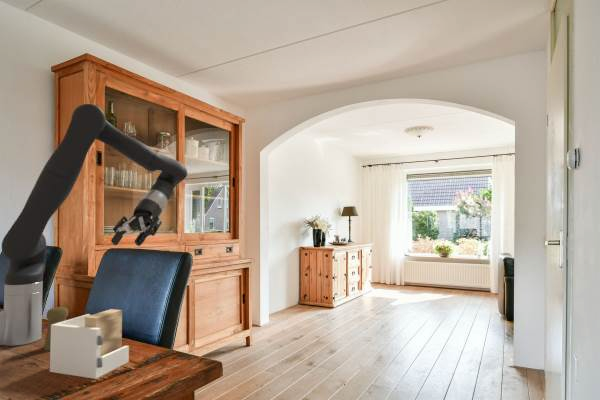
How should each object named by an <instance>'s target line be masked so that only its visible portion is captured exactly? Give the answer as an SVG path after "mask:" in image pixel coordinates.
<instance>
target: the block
mask: <svg viewBox="0 0 600 400" xmlns="http://www.w3.org/2000/svg"><path fill="white" fill-rule="evenodd" d="M85 327H94V328H101V335H103V345H100V357H101V356H103V355H106V354H108V353H110V352H112V351H115V350H117V349H119V348H121V347H123V346H122V345H123V343H122V342H123V340H122V339H123V337H122V336H123V309H114V308H110V309H106V310H104V311H100V312H97V313H94V314H91V315H90V316H87V317H85Z"/></svg>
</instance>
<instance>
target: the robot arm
mask: <svg viewBox="0 0 600 400" xmlns="http://www.w3.org/2000/svg"><path fill="white" fill-rule="evenodd" d="M106 118H107V117H106V115H105V113H104V111H103V110H102V108H100V107H99V106H98V105H96V104H93V103H84V104H81V105H79V106H77V107H76V108H75V109H74V110H73V111H72V114H71V119H70V123H69V125H68V128H67V129H66V133H65V134H64V137H63V139H61V142H60V144H59V145H58V147H56V149H55V150H54V152H53V153H52V155H50V157H49V158H48V160H47V162H46V163H45V165H44V167H43V169H42V170H41V172H40V174H39V176H38V178H37V180H36V181H35V184H34V186H33V188H32V190H31V191H30V194H29V195H28V198H27V200H26V203H25V205H24V206H23V208H22V210H21V212H20V214H19V215H18V217H17V218H16V220H15V221H14V223H12V225H11V227H10V228H9V230H8V231H7V232H6V234H5V235H4V237H3V238H2V241H1V251H2V254H3V255H4V256H5V258H7V259H8V260H9V267H8V270H7V272H6V273H5V275H4V291H3V292H4V295H3V310H1V311H0V346H8V347H9V346H10V347H12V346H13V347H15V346H23V345H28V344H31V343H34V342H38V341H40V340H41V339H42V333H43V330H42V327H43V325H42V323H43V293H44V291H43V290H44V289H43V288H44V286H43V284H44V283H43V282H44V281H43V280H44V274H45V270H46V261H47V240H46V239H47V238H46V237H45V235H44V231H45V229H46V227H47V224H48V222H49V221H50V219H51V218H52V217H53V215H54V214H55V213H56V212H57V210H59V208H60V207H61V206H62V205H63V203H65V201H66V199H67V198H68V197H69V195H70V193H71V191H72V190H73V188H74V186H75V184H76V182H77V180H78V177H79V175H80V173H81V171H82V168H83V165H84V164H85V160H86V158H87V155H88V152H89V151H90V148H91V147H92V145H93V143H94V142H95V141H96V140H97V141H100V142H101V143H103V144H106V145H107V146H109V147H111V148H112V149H115V151H117V152H119V153H120V154H122V156H125V157H126V158H128V159H129V160H131V161H132V162H133V163H135V164H137V165H138V166H140V167H142V168H143V169H145V170H147V171H149V172H156V171H160V173H159V175H158V176H157V178H156V180H155V181H154V184H153V185H152V186H151V188H150V189H149V190H148V192H147V193H146V194H144V196H143V197H142V198H141V200H140V201H139V202H138V204H137V205H136V207H134V209H133V214H132V216H131V217H128V218H127V217H126V216H122V217H121V219H119V221H118V222H117V223H116V224H115V225H114V227H113V228H112V230H113V232H114V235H113V237H112V238H111V239H110V241H111V243H112V245H113V246H117V245H119V243H120V242H121V241H122V240H123V237H124V236H126V235H127V234H131V233H133V232H139V234H138V235H137V236H136V238H135V239H134V244H135V245H136V246H137V247H140V246H141V245H142V244H143V243H144V242H145V240H146V239H147V238H148V237H150V236H156V233H157V232H158V230H159V228H160V226H161V225H162V221H161V219H160V215H162V212H163V211H164V209H165V208H166V207H167V206H166V205H167V203H168V202H169V200H170V199H171V198H172V196H173V194H174V191H175V190H174V189H175V188H176V187H177V186H178V185H179V184H180V183H182V182H183V181H184V180H185V179H186V178H187V177H188V170H187V167H186V166H185V165H184V164H183V163H182V162H180V161H178V160H176V159H174V158H172V157H168V156H165V155H163V154H160V153H159V152H157V151H156V150H155V149H153V148H151V147H149V146H148V145H147V144H145V143H143V142H141V141H140V140H138V139H136V138H134V137H132V136H129V135H128V134H126V133H124V132H123V131H121V130H120V129H118V128H117V127H116V126H114V125H113V124H112V123H110V122H109V121H108V120H107V119H106ZM129 228H130V229H129Z"/></svg>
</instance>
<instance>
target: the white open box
mask: <svg viewBox="0 0 600 400" xmlns="http://www.w3.org/2000/svg"><path fill="white" fill-rule="evenodd" d="M90 315H92V314H90V313H86V314H84V315H79V316H77V317H76V316H75V317H73V318H69V319H66V321H62V322H59V323H56V324H52V325H51V344H50V351H49V372H50V373H55V374H61V375H69V376H73V377H74V376H75V377H81V378H88V379H94V380H95V379H98V378H100V377H102V376H105V375H106V374H108V373H110V372H112V371H114V370H116V369H118V368H120V367H122V366H124V365H125V364H127V363H129V362H130V359H129V358H130V357H129V356H130V346H129V345H123V346H122V347H121V348H119V349H117V350H115V351H112V352H110V353H108V354H106V355H103V356H101V357H100V345H103V335H101V328H94V327H85V317H87V316H90Z"/></svg>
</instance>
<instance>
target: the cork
mask: <svg viewBox="0 0 600 400" xmlns="http://www.w3.org/2000/svg"><path fill="white" fill-rule="evenodd" d="M68 315H69V309H68V308H67V307H64V306H56V307H52V308H50V309H48V310H47V312H46V319H47V320H48V325H47V330H46V336H45V341H44V348H43V350H44V351H46V352H47V351H48V352H50V344H51V325H52V324H56V323H59V322H62V321H66V320H67V317H68Z"/></svg>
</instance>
